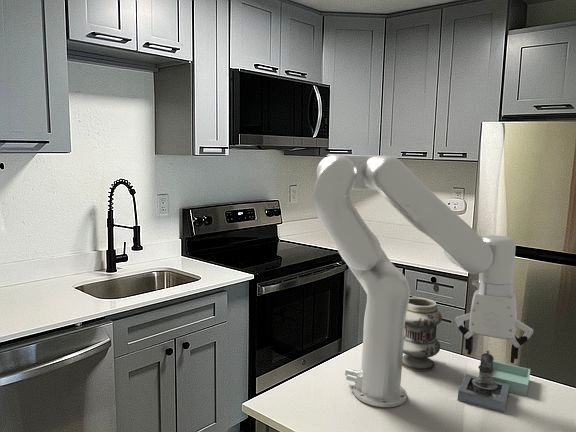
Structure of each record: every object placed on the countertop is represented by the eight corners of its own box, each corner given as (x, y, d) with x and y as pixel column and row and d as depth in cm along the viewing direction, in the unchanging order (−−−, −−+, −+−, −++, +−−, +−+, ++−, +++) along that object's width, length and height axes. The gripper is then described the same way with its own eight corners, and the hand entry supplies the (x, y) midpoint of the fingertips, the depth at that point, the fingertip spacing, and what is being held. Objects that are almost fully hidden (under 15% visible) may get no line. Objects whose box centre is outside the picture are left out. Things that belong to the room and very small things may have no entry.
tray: (481, 385, 127) (482, 374, 126) (487, 370, 136) (488, 359, 136) (526, 396, 122) (527, 384, 122) (529, 379, 131) (530, 369, 131)
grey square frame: (457, 400, 119) (458, 390, 118) (464, 383, 128) (465, 373, 127) (504, 412, 114) (505, 402, 114) (508, 393, 123) (509, 384, 123)
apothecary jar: (406, 351, 147) (410, 292, 144) (445, 363, 139) (451, 301, 137) (386, 363, 138) (390, 301, 135) (427, 377, 130) (432, 311, 128)
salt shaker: (490, 391, 124) (494, 345, 122) (500, 403, 118) (505, 355, 116) (466, 391, 124) (471, 345, 122) (476, 403, 118) (481, 355, 116)
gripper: (454, 286, 118) (450, 355, 120) (535, 297, 110) (529, 370, 112) (460, 279, 124) (456, 344, 127) (536, 289, 116) (531, 358, 119)
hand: (490, 356), depth 119 cm, fingers open, 9 cm apart
